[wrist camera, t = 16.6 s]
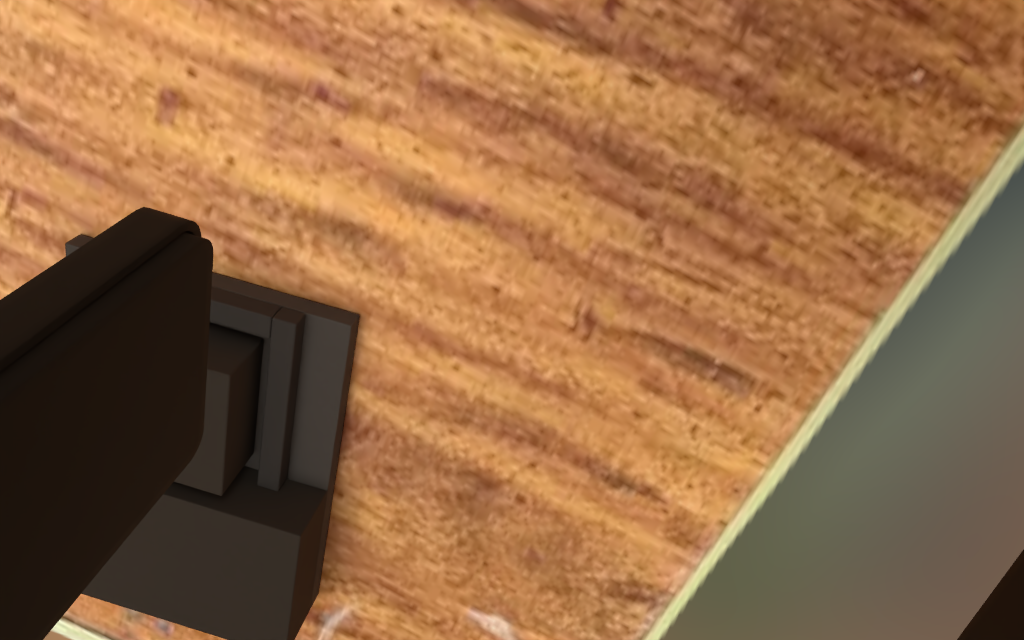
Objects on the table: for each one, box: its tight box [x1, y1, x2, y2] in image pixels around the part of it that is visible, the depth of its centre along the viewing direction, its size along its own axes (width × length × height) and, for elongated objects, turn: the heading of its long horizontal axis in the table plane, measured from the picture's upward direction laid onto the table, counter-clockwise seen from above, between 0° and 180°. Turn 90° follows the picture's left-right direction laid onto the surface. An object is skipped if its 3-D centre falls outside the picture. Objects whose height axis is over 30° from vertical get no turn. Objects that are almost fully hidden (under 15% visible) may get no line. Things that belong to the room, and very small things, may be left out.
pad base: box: [65, 235, 360, 640], centre depth 38 cm, size 16×12×4 cm
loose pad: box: [174, 323, 263, 496], centre depth 36 cm, size 6×5×3 cm
